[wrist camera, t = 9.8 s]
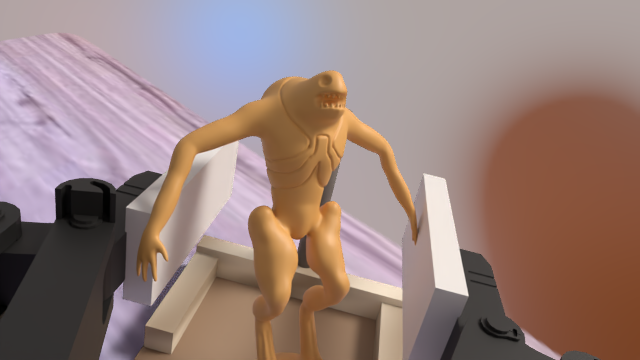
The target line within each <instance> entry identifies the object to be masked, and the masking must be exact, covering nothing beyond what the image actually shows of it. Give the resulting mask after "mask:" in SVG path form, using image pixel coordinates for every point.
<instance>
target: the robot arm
mask: <svg viewBox="0 0 640 360" xmlns="http://www.w3.org/2000/svg"><path fill="white" fill-rule="evenodd" d="M238 144H239V140H238V141H236V142H233V143H230V144H227V145H224V146H222V147H219V148H216V149H213V150H210V151H206V152H203V153H199V154H197V155H196V156H195V158H194V161H193V164H192V167H191V170H190V172H189V174H188V176H187V178H186V180H185V182H184V184H183V187H182V191H181V194H180V197H179V200H178V203H177V205H176V207H175V209H174V212H173V213H172V215H171V217H170V219H169V220H168V222H167V223H166V225H165V226H164V228H163V229H162V230H161V232H160V235H159V239H160V241H161V242H162V243H163V245H164V246H165V248H166V251H167V254H168V262H166V261H165V259H164V258H163V256H162V254H161V253H157V281H156V282H155V281H154V279H153V276H152V271H151V265H150V263H149V264H148V270H147V281H146V282H144V281H143V278H142V263H141V270H140V275H139V276H137V270H136V263H137V253H138V248H139V245H140V241H141V237H142V234H143V232H144V230H145V228H146V226H147V223H148V221H149V219H150V216H151V212H152V208H153V205H154V202H155V200H156V198H157V196H158V194H159V192H160V189H161V187H162V184H163V182H164V180H165V178H166V176H167V173H168V170H169V169H168V170H167V171H166V172H165V173H164V174H159V173H155V172H151V171H146V172H143V173H140V174H137V175H134V176H133V177H131V178H130V179H129V180H128V181H126V182H125V183H124V185H121V186H120V187H119V188H118V189H116V188H115V187H114V186H113V185H112V184H110V183H108V182H106V181H103V180H99V179H93V178H79V179H73V180H69V181H66V182H64V183H61V184H60V185H59V186H57V187H56V188H55V202H56V220H55V222H54V223H35V222H21V215H20V209H19V208H17V207H16V206H15V205H13V204H10V203H7V202H0V360H99V356H100V353H101V349H102V345H103V342H104V338H105V334H106V331H107V327H108V324H109V320H110V316H111V313H112V309H113V296H114V292H115V290H116V289H117V288H118V287H119V286H120V285H121V284H122V282H123V299H125V300H129V301H133V302H137V303H140V304H144V305H148V306H152V304H153V303H154V301H155V300H156V299H157V297H158V296H159V294H160V293H161V292H162V290H163V289H164V288H165V286H166V285H167V283H168V282H169V281H170V279H171V278H172V277H173V275H174V274H175V272H176V271H177V270H178V268H179V267H180V266H181V264H182V263H183V261H184V260H185V259H186V257H187V256H188V254H189V253H190V252H191V250H192V249H193V248H194V246H195V245H196V243H197V242H198V241H199V239H200V238H201V237H202V235H203V234H204V232H205V231H206V230H207V228H208V227H209V226H210V224H211V223H212V221H213V220H214V219H215V217H216V216H217V214H218V213H219V212H220V210H221V209H222V208H223V206H224V205H225V203H226V202H227V201H228V199H229V198H230V197H231V194H232V187H233V180H234V173H235V166H236V158H237V151H238ZM414 208H415V212H416V218H417V241H416V245H415V243H414V241H412V230H411V224H410V221H409V220H408V223H407V226H406V229H405V232H404V235H403V238H402V315H403V360H555V359H553V358H551V357H548V356H546V355H544V354H542V353H540V352H538V351H536V350H535V349H533V348H531V347H529V346H528V345H526V344H525V337H524V333H523V332H522V330H521V329H520V327H519V326H518V325H517V324H516V323H515V322H514V321H512V320H511V319H510V318H508V317H506V316H505V313H504V309H503V306H502V303H501V299H500V296H499V292H498V289H496V288H497V286H496V282H495V279H494V275H493V271H492V268H491V266H490V264H489V263H488V262H487V261H486V260H485V259H484V257H483V256H482V255H481V254H477V253H474V252H470V251H466V250H462V249H459V245H458V240H457V235H456V230H455V225H454V221H453V215H452V210H451V205H450V200H449V195H448V190H447V186H446V181H445V179H444V178H440V177H436V176H432V175H428V174H423V177H422V180H421V184H420V186H419V189H418V193H417V195H416V198H415V202H414ZM560 360H600V359H598V358H597V357H594V356H592V355H589V354H587V353H584V352H579V351H569V352H566V353H565V354H564V355H563V356H562V357H561V359H560Z"/></svg>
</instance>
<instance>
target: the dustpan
mask: <svg viewBox="0 0 640 360" xmlns="http://www.w3.org/2000/svg"><path fill="white" fill-rule="evenodd" d="M350 111H351V110H350ZM351 112H352V111H351ZM340 160H341V159H340ZM339 165H340V163H339ZM339 165H338V166H337V168H336V169H335V170H334V171H332V174H331V176H330V179H329V182H328V184H327V185H326V186H324V190H323V194H322V198H321V202H320V207H321V206H322V205H324V204H325V203H327V202H329V201H330V200H331V196H332V192H333V188H334V184H335V180H336V176H337V173H338V168H339ZM297 253H298V265H297V269H296V272H295V274H294V276H293V279H292V284H291V295H290V298H289V301H288V303H287V305H286V306H285V308H284V310H283V312H282V313H281V314H280V315H279V316H276V317H275V318H274V319H272V320H270V323H271V327H272V335H273V344H274V350H275V353H280V352H290V353H297V354H300V351H301V349H300V326H299V310H300V306H301V304H302V302H303V295H304V293H305V292H306V290H308V289H309V288H311V287H312V286H315V285H320V286H323V284H322V281H321V278H320V277H319V275H318V274H316V273H315V272H314V271H312V270H311V268H310V267H309V265H308V263H307V259H306V235H305V236H304V237H303V238H301V239H300V243H299V247H298V251H297ZM346 275H347V277H348V279H349V282H350V289H349V291H348V293H347V295H346V296H345V297H344V298H343V299H342V301H341V302H339V303H338V304H336V305H332V306H329V307H327V308H325V309H323V310H320V311H314V320H315V328H316V337H317V345H318V351H319V354H320V356H321V358H322V359H323V360H403V315H402V288H399V287H395V286H391V285H388V284H384V283H380V282H376V281H373V280H369V279H365V278H362V277H358V276H354V275H350V274H347V273H346ZM259 295H262V293H261V291H260V288H259V286H258V283H257V280H256V276H255V271H254V251H253V248H250V247H247V246H243V245H239V244H236V243H232V242H228V241H225V240H221V239H217V238H213V237H210V236H206V235H204V236H203V238H202V239H201V240H200V242H199V243H198V245H197V250H196V253H195V254H194V256H193V257H192V259H191V260H190V262H189V263H188V264H187V266H186V267H185V269H184V270H183V272H182V273H181V275H180V276H179V277H178V279H177V280H176V282H175V283H174V285H173V286H172V288H171V289H170V290H169V292H168V293H167V295H166V296H165V298H164V299H163V301H162V302H161V303H160V305H159V306H158V308H157V309H156V311H155V312H154V314H153V315H152V316H151V318H150V319H149V321H148V322H147V324H146V325H145V337H144V345H143V347H142V348H141V350H140V351H139V353H138V354H137V356H136V357H135V359H134V360H256V359H257V350H256V337H255V316H254V314H253V310H252V308H253V303H254V301H255V299H256V298H257V297H258V296H259Z"/></svg>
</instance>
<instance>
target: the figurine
mask: <svg viewBox="0 0 640 360" xmlns="http://www.w3.org/2000/svg"><path fill="white" fill-rule="evenodd" d="M346 96H347V88H346V86H345V83H344V81H343V78H342V75H341V74H340V73H338V72H336V71H325V72H322V73H320V74H318V75H316V76H314V77H312V78H310V79H306V78H302V77H286V78H283V79H280V80H278V81H276V82H275V83H273V84H272V85H271V86H270V87H269V88H268V89H267V90H266V91H265V93H264V94H263V96H262V98H261V100H257V101H254V102H250V103H248V104H246V105H244V106H243V107H241V108H240V109H239V110H237V111H236V112H235V113H233V114H232V115H229V116H227V117H225V118H223V119H220V120H217V121H214V122H212V123H209V124H207V125H205V126H203V127H201V128H199V129H197V130H195V131H193V132H191V133H189V134H188V135H186V136H185V137H184V138H182V139H181V140H180V141H179V142H178V144H177V145H176V147H175V149H174V151H173V154H172V158H171V162H170V166H169V170H168V173H167V176H166V178H165V180H164V182H163V184H162V187H161V189H160V192H159V194H158V196H157V198H156V200H155V202H154V205H153V208H152V212H151V216H150V219H149V221H148V223H147V226H146V228H145V230H144V232H143V234H142V237H141V241H140V245H139V248H138V253H137V263H136V270H137V276H139V275H140V270H141V263H142V278H143V281H144V282H146V281H147V270H148V264H149V263H150V265H151V271H152V276H153V279H154V281H155V282H156V281H157V253H161V254H162V256H163V258H164V259H165V261H166V262H168V254H167V251H166V248H165V246H164V245H163V243H162V242H161V241H160V239H159V235H160V232H161V230H162V229H163V228H164V226H165V225H166V223H167V222H168V220H169V219H170V217H171V215H172V213H173V212H174V209H175V207H176V205H177V203H178V200H179V197H180V194H181V191H182V187H183V184H184V182H185V180H186V178H187V176H188V174H189V172H190V170H191V167H192V164H193V161H194V158H195V156H196V155H197V154H199V153H203V152H206V151H210V150H213V149H216V148H219V147H222V146H224V145H227V144H230V143H233V142H236V141H238V140H241V139H243V138H246V137H250V136H257V137H259V138H261V141H262V146H263V152H264V156H265V161H266V167H267V174H268V178H269V181H270V184H271V194H272V200H273V207H272V210H271V209H270V208H269V207H268V206H259V207H257V208H255V209H254V210H253V211H252V212H251V214H250V216H249V220H248V230H249V234H250V237H251V240H252V244H253V251H254V271H255V276H256V280H257V283H258V286H259V288H260V291H261V293H262V295H259V296H258V297H257V298H256V299H255V301H254V303H253V308H252V310H253V314H254V316H255V337H256V350H257V359H256V360H323V359H322V358H321V356H320V354H319V351H318V345H317V337H316V328H315V320H314V311H320V310H323V309H325V308H327V307H329V306H332V305H336V304H338V303H339V302H341V301H342V299H343V298H344V297H345V296H346V295H347V293H348V291H349V289H350V282H349V279H348V277H347V275H346V272H345V264H344V258H343V253H342V247H341V241H340V226H341V222H340V217H341V208H340V206H339V205H338V204H337V203H336V202H334V201H329V202H327V203H325V204H324V205H322V206H321V207H320V202H321V198H322V194H323V190H324V186H326V185H327V184H328V182H329V179H330V176H331V174H332V171H334V170H335V169H336V168H337V166H338V165H339V163H340V159H341V158H342V157H343V153H344V148H345V144H346V140H347V139H348V140H350V141H352V142H353V143H355V144H357V145H359V146H361V147H363V148H365V149H367V150H369V151H372V152H375V153H377V154H378V155H379V156H380V161H381V165H382V168H383V170H384V172H385V174H386V176H387V179H388V181H389V184H390V186H391V188H392V190H393V192H394V194H395V196H396V198H397V200H398V201H399V203H400V204H401V205H402V207H403V208H404V209H405V211H406V213H407V215H408V217H409V221H410V224H411V230H412V241H414V243H415V245H416V241H417V218H416V212H415V208H414V205H413V202H412V199H411V195H410V192H409V189H408V187H407V185H406V183H405V182H404V180H403V177H402V176H401V174H400V172H399V170H398V168H397V165H396V161H395V157H394V154H393V151H392V148H391V146H390V145H389V143H388V142H387V141H386V140H385V139H384V137H382V136H381V135H380V134H379V133H378V132H376V131H375V130H374V129H372V128H371V127H369V126H368V125H366V124H364V123H362V122H361V121H360V120H359V119H358V118H357V117H356V116H355V115H354V114H353V113H352V112H351V111H350V110H349V109H347V108H345V104H346ZM305 235H306V259H307V263H308V265H309V267H310V268H311V270H312V271H314V272H315V273H316V274H318V275H319V277H320V278H321V281H322V284H323V286H320V285H315V286H312V287H311V288H309V289H308V290H306V292H305V293H304V295H303V302H302V304H301V306H300V310H299V326H300V349H301V351H300V354H297V353H290V352H280V353H275V350H274V344H273V335H272V327H271V323H270V320H272V319H274V318H275V317H276V316H279V315H280V314H281V313H282V312H283V310H284V308H285V306H286V305H287V303H288V301H289V298H290V295H291V284H292V279H293V276H294V274H295V272H296V269H297V265H298V253H297V249H296V246H295V244H294V242H293V240H292V238H293V239H296V240H298V239H301V238H303V237H304V236H305Z"/></svg>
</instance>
